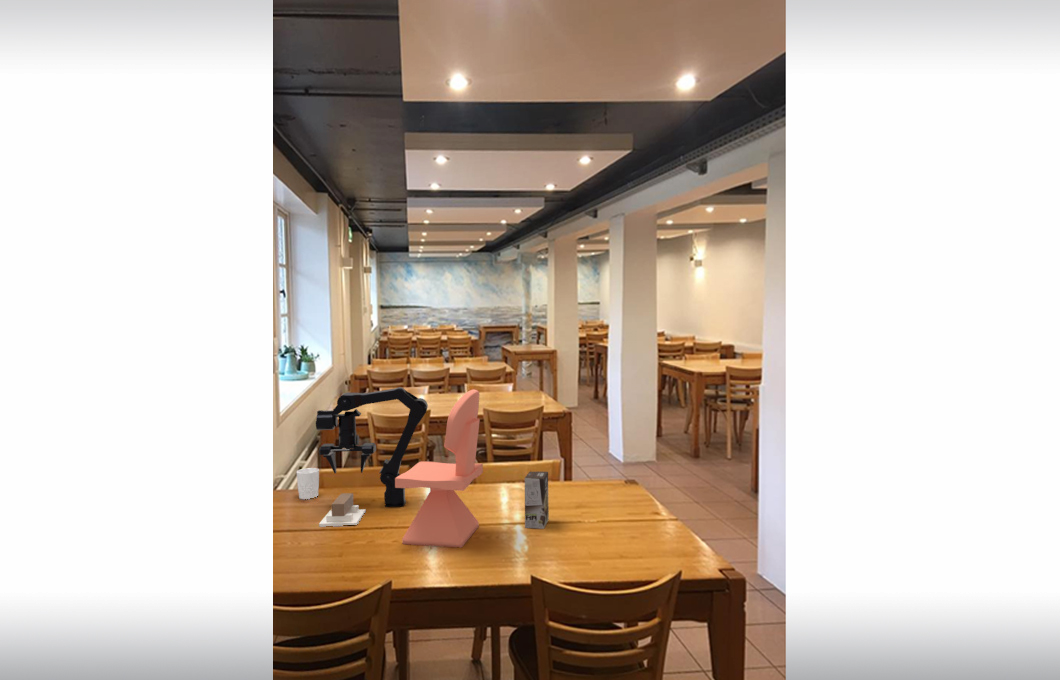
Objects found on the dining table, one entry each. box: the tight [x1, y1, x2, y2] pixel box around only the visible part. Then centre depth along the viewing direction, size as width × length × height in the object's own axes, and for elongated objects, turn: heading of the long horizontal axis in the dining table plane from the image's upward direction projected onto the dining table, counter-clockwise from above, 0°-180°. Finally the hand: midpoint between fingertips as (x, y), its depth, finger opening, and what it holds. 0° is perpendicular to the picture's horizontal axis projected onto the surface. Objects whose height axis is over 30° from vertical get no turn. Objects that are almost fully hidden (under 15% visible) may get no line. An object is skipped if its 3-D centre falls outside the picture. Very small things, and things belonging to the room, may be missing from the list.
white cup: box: [296, 467, 320, 500], centre depth 245 cm, size 8×8×10 cm
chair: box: [395, 388, 484, 549], centre depth 202 cm, size 27×22×45 cm
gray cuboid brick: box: [331, 492, 354, 516], centre depth 219 cm, size 12×4×4 cm, turn 1°
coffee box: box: [524, 471, 550, 530], centre depth 212 cm, size 9×6×16 cm
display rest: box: [318, 504, 366, 528], centre depth 219 cm, size 12×14×3 cm
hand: (348, 472), depth 232 cm, fingers open, 9 cm apart
